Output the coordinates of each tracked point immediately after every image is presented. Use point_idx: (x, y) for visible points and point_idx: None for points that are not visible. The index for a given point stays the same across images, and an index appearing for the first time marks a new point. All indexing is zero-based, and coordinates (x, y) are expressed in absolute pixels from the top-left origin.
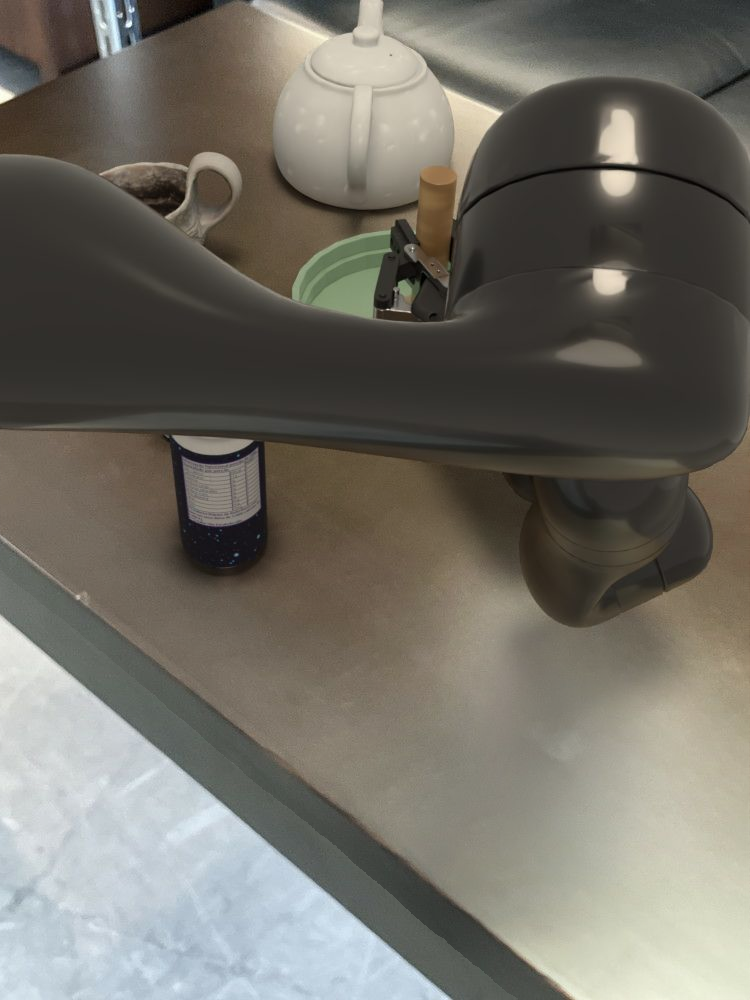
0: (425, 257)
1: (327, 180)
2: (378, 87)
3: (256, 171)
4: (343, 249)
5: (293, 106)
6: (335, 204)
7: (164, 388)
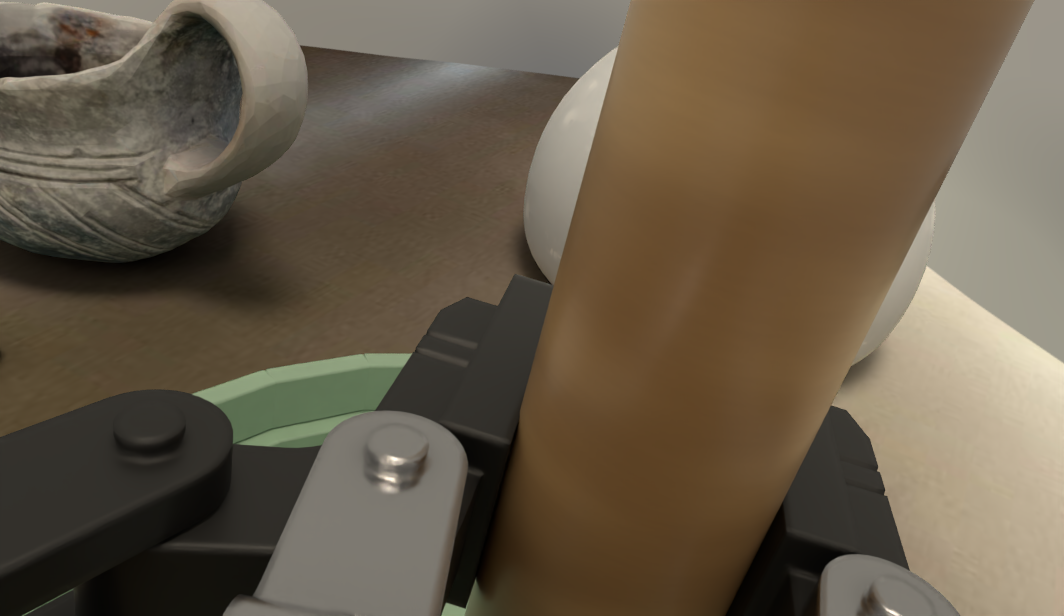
0: (405, 597)
1: None
2: None
3: (498, 211)
4: None
5: (584, 80)
6: None
7: None
